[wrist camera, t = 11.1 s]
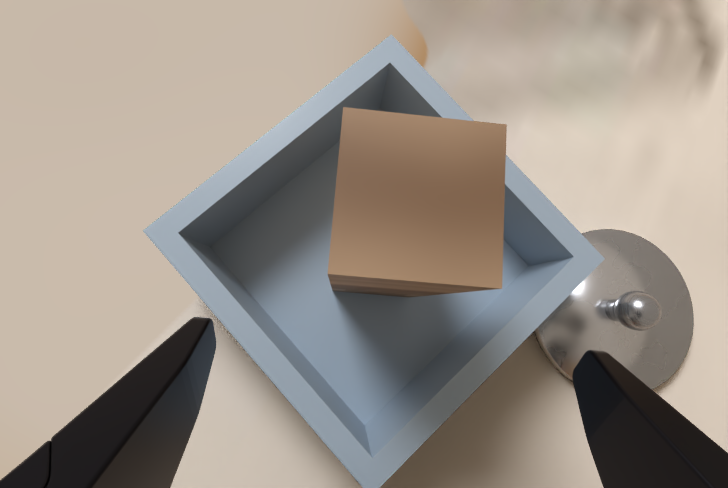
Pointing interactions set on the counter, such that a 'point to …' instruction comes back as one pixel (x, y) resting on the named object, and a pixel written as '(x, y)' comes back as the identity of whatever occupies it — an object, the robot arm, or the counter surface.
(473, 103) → the counter surface
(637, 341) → the base
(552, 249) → the bin
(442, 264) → the strut
